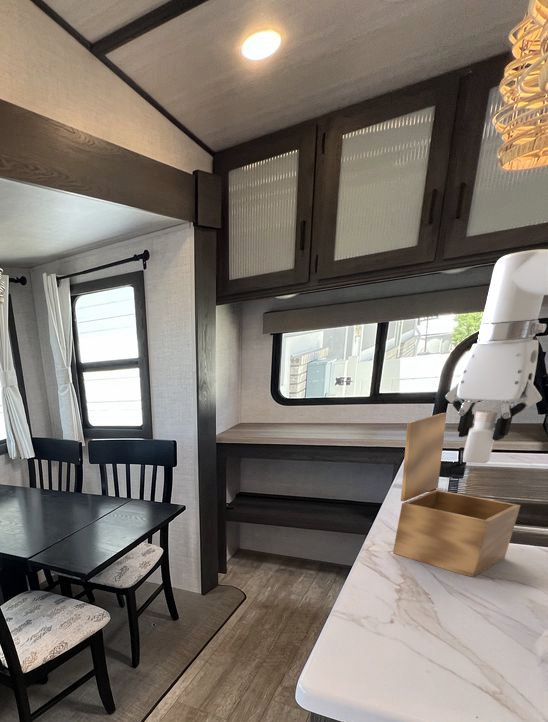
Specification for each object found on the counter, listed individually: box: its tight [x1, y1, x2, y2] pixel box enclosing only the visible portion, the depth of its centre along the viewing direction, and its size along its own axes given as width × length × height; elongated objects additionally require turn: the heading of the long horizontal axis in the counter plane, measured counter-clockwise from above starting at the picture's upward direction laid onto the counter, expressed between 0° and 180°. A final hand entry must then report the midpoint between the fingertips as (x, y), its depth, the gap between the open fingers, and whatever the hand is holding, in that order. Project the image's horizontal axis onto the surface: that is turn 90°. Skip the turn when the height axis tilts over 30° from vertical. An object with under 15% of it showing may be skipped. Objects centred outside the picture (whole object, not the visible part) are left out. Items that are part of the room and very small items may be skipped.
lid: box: [400, 412, 447, 502], centre depth 100 cm, size 16×14×1 cm
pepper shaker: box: [462, 409, 499, 464], centre depth 89 cm, size 4×4×10 cm
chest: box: [392, 489, 521, 578], centre depth 99 cm, size 16×14×12 cm
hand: (480, 436), depth 89 cm, fingers closed on pepper shaker, 4 cm apart
